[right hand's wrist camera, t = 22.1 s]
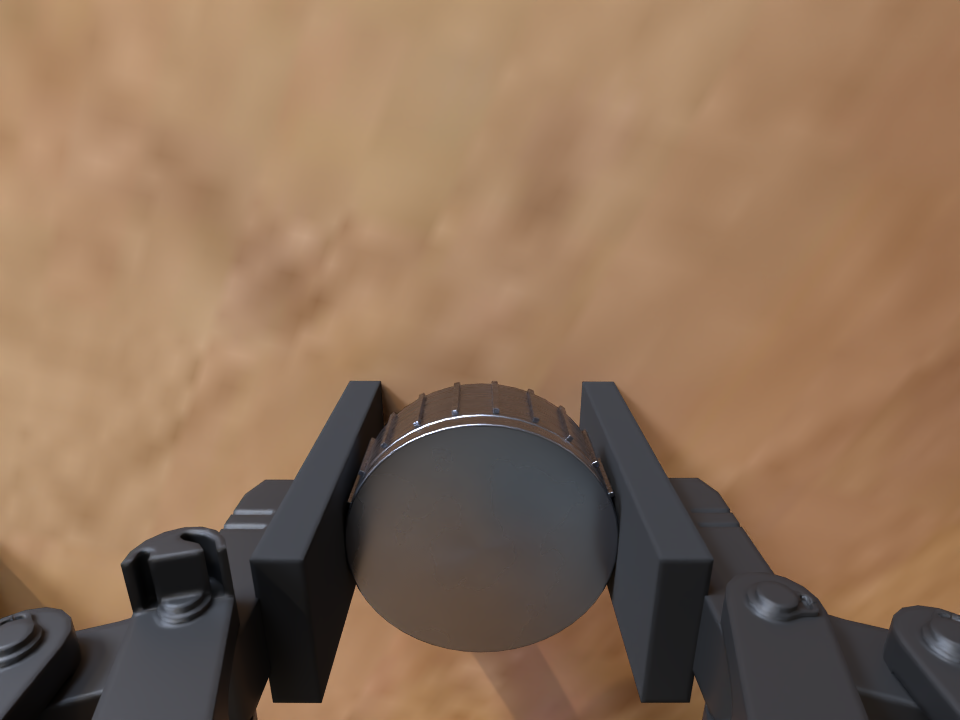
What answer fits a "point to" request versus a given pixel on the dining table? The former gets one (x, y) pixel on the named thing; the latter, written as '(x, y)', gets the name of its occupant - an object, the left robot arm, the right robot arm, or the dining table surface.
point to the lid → (481, 520)
